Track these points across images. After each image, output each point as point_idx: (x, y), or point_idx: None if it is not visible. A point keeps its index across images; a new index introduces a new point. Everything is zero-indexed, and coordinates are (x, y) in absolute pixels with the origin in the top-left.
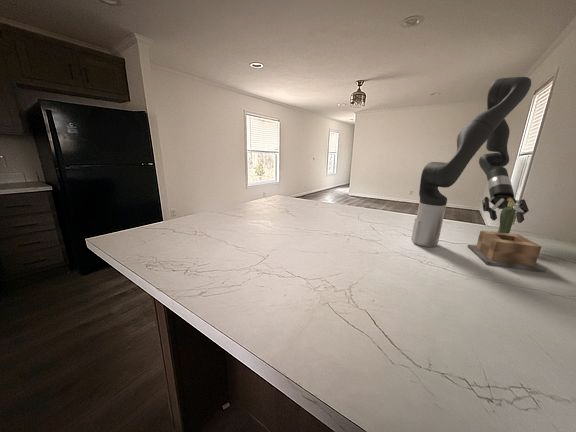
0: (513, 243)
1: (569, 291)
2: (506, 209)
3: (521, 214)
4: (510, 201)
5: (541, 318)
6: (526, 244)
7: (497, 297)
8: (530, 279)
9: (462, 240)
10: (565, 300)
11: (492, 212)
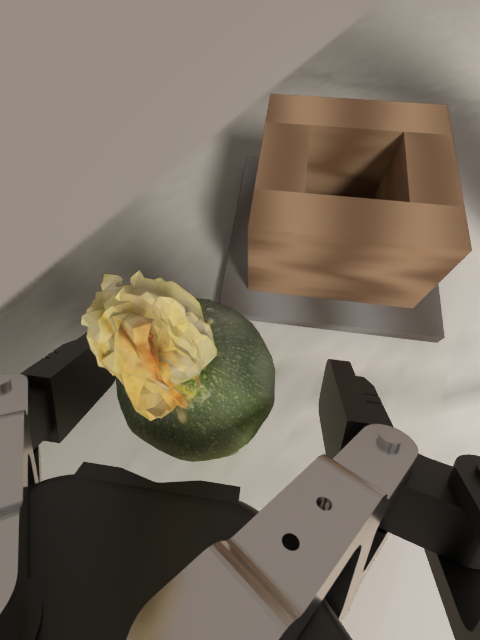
0: (377, 100)
1: (270, 93)
2: (250, 331)
3: (51, 361)
4: (168, 308)
5: (407, 16)
6: (321, 102)
7: (460, 47)
8: None
9: (434, 456)
10: (314, 63)
11: (377, 418)
